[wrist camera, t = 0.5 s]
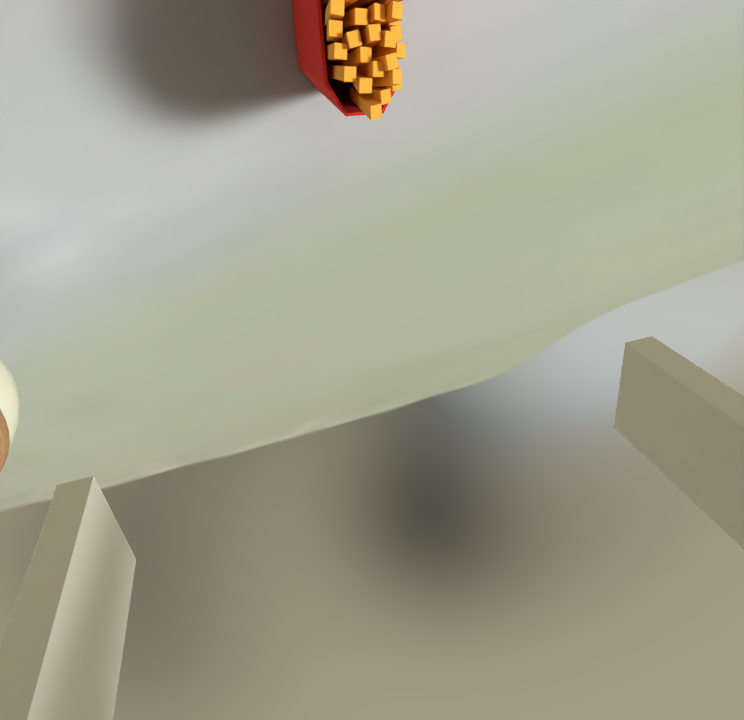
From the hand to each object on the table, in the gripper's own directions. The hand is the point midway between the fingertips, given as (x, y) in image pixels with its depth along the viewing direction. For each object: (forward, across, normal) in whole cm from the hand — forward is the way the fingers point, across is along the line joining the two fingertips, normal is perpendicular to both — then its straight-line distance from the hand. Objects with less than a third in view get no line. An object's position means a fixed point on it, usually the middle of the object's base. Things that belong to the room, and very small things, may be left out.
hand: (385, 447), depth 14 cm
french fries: (+27, +5, +9) cm, 29 cm away
